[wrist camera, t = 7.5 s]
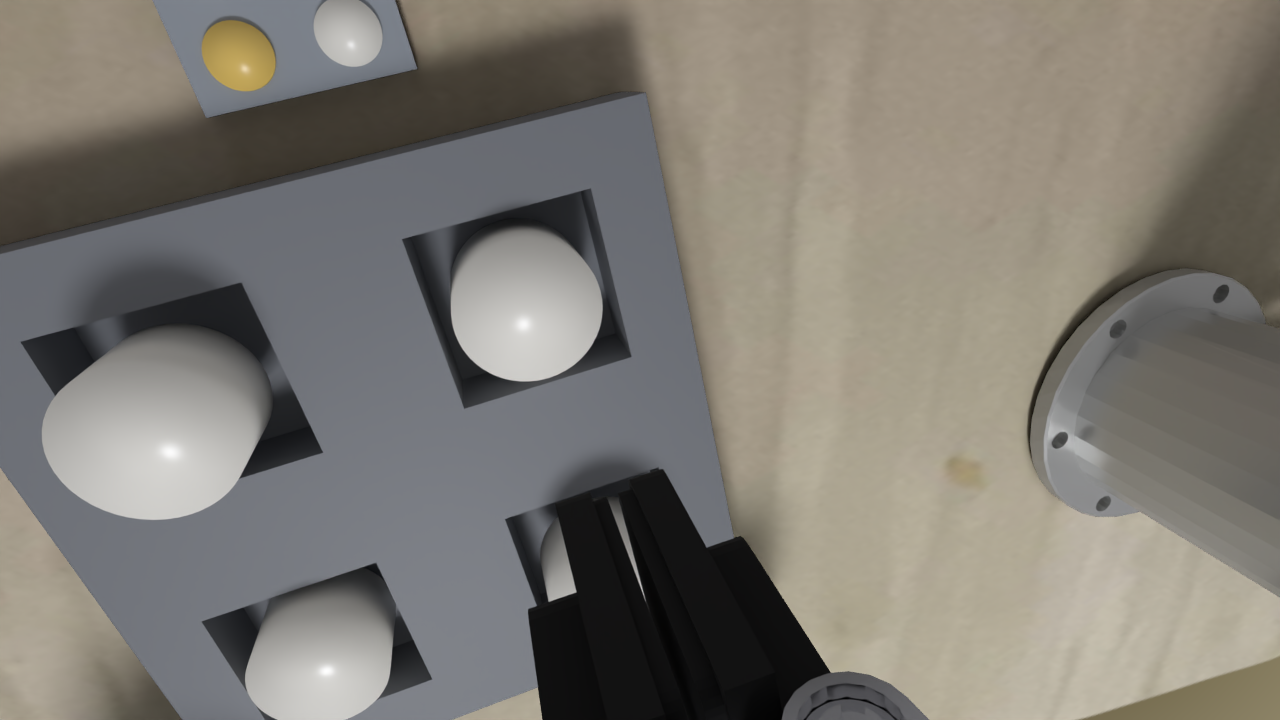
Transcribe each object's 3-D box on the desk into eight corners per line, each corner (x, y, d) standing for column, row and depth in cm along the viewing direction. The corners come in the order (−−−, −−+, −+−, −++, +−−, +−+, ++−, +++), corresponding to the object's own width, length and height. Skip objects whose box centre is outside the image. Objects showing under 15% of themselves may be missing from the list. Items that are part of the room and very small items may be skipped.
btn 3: (232, 304, 19) (198, 340, 17) (297, 436, 21) (276, 487, 18) (65, 350, 19) (1, 394, 16) (146, 482, 21) (101, 542, 18)
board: (621, 91, 22) (645, 92, 20) (721, 562, 31) (747, 608, 28) (-51, 258, 19) (-131, 286, 17) (259, 730, 28) (239, 799, 25)
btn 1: (565, 202, 22) (582, 219, 20) (597, 326, 24) (617, 357, 21) (431, 239, 22) (429, 261, 19) (474, 363, 23) (478, 399, 21)
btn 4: (370, 546, 25) (361, 602, 22) (412, 634, 27) (409, 696, 24) (244, 588, 24) (220, 651, 22) (297, 675, 26) (279, 743, 23)
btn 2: (643, 480, 25) (667, 528, 22) (666, 572, 27) (691, 627, 24) (525, 520, 24) (535, 574, 22) (557, 612, 26) (570, 672, 23)
